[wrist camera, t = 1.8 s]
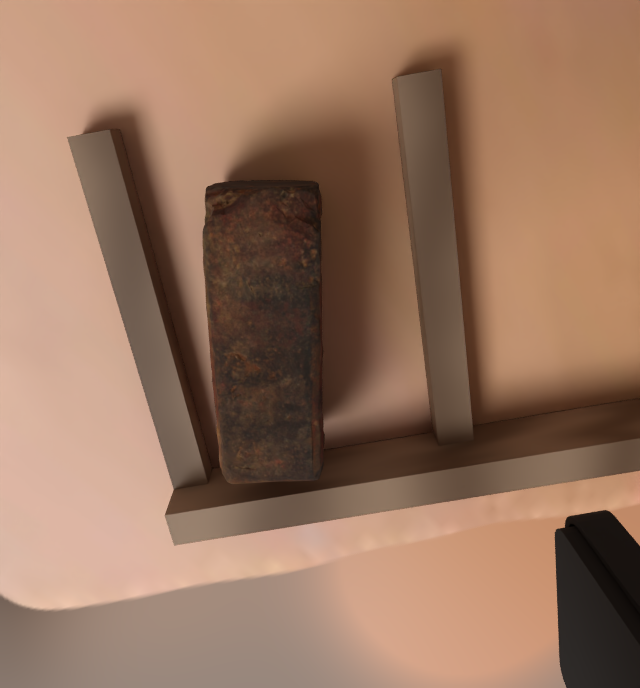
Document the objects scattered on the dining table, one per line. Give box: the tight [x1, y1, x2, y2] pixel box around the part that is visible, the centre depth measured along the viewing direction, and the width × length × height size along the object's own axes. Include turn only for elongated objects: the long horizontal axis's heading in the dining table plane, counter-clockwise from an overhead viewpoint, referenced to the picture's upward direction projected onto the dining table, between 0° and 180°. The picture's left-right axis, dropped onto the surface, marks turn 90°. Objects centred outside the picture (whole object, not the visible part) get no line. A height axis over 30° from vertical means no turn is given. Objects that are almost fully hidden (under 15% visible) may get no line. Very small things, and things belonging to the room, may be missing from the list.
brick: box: [203, 180, 325, 484], centre depth 22 cm, size 11×4×5 cm, turn 1°
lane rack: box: [67, 69, 640, 545], centre depth 22 cm, size 24×16×3 cm, turn 100°
